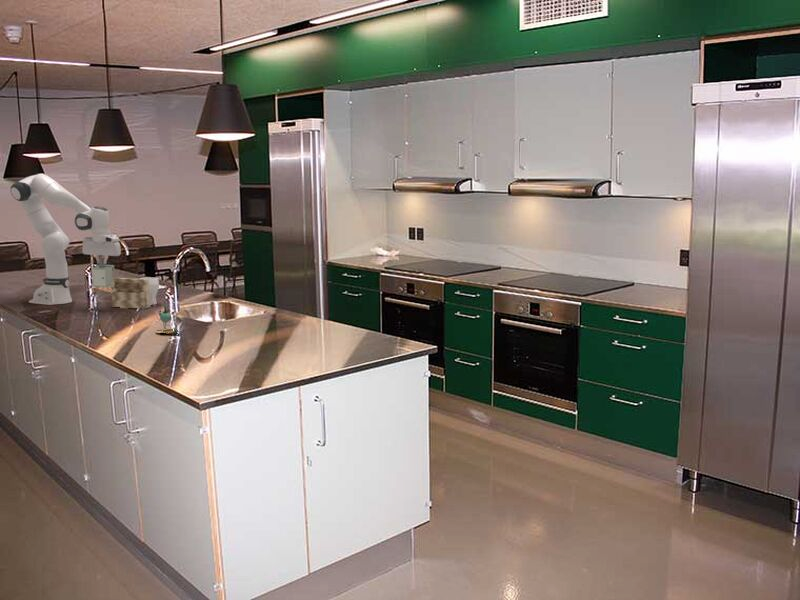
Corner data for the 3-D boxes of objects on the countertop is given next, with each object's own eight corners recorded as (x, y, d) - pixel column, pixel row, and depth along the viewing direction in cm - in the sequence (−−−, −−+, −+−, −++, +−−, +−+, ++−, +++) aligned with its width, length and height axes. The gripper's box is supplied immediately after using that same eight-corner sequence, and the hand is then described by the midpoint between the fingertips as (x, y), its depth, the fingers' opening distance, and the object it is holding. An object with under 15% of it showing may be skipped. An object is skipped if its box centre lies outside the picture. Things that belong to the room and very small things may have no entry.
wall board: (110, 307, 416) (109, 278, 413) (116, 305, 423) (115, 277, 420) (144, 309, 413) (143, 280, 410) (150, 307, 420) (150, 278, 417)
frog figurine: (165, 338, 347) (162, 306, 346) (149, 335, 361) (146, 305, 359) (185, 335, 354) (182, 304, 352) (168, 333, 367) (166, 302, 366)
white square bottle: (91, 286, 401) (90, 258, 399) (100, 284, 410) (100, 257, 408) (105, 287, 400) (105, 259, 398) (114, 285, 409) (114, 257, 407)
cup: (162, 303, 432) (161, 277, 430) (154, 306, 422) (154, 280, 419) (144, 302, 433) (143, 276, 431) (136, 305, 423) (135, 279, 420)
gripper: (79, 237, 398) (80, 263, 401) (116, 239, 396) (116, 265, 398) (85, 236, 404) (86, 261, 407) (122, 238, 402) (122, 263, 404)
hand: (101, 263), depth 403 cm, fingers closed on white square bottle
